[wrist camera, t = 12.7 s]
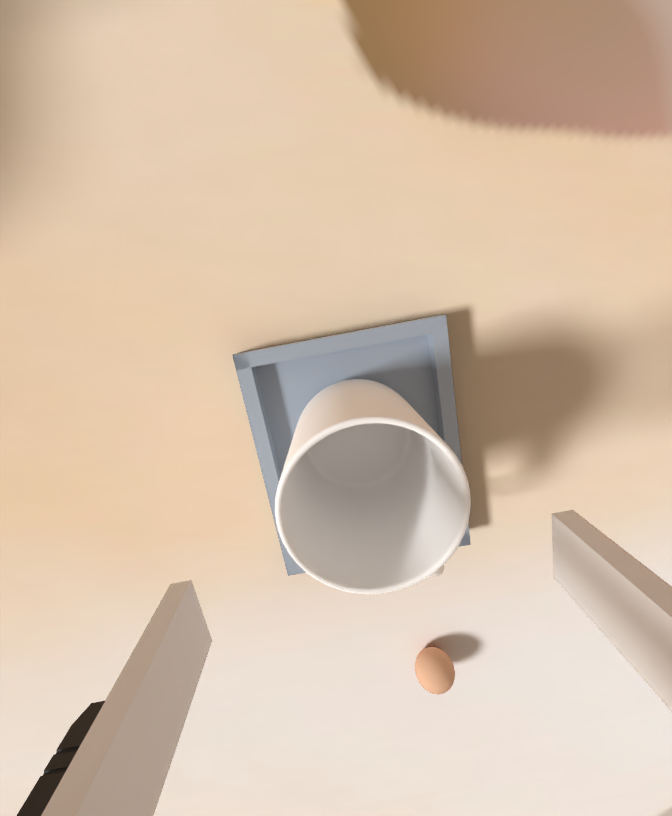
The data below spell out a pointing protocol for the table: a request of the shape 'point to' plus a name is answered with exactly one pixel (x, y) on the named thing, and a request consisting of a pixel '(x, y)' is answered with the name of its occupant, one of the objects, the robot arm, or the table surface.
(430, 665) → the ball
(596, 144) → the table surface
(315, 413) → the mug
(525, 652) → the table surface
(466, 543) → the tray
